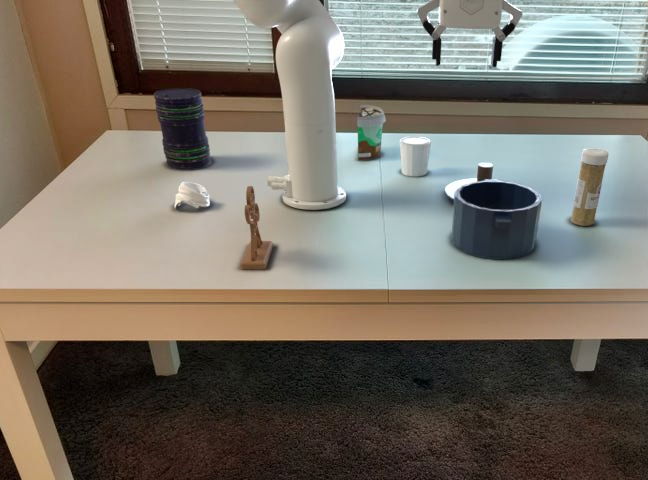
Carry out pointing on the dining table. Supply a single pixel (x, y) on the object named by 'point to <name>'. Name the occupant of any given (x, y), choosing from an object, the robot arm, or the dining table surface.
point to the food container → (370, 132)
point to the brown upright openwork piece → (255, 237)
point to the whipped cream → (192, 195)
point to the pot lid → (482, 174)
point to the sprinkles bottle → (589, 186)
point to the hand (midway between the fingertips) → (465, 65)
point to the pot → (495, 219)
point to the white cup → (414, 155)
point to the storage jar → (183, 128)
